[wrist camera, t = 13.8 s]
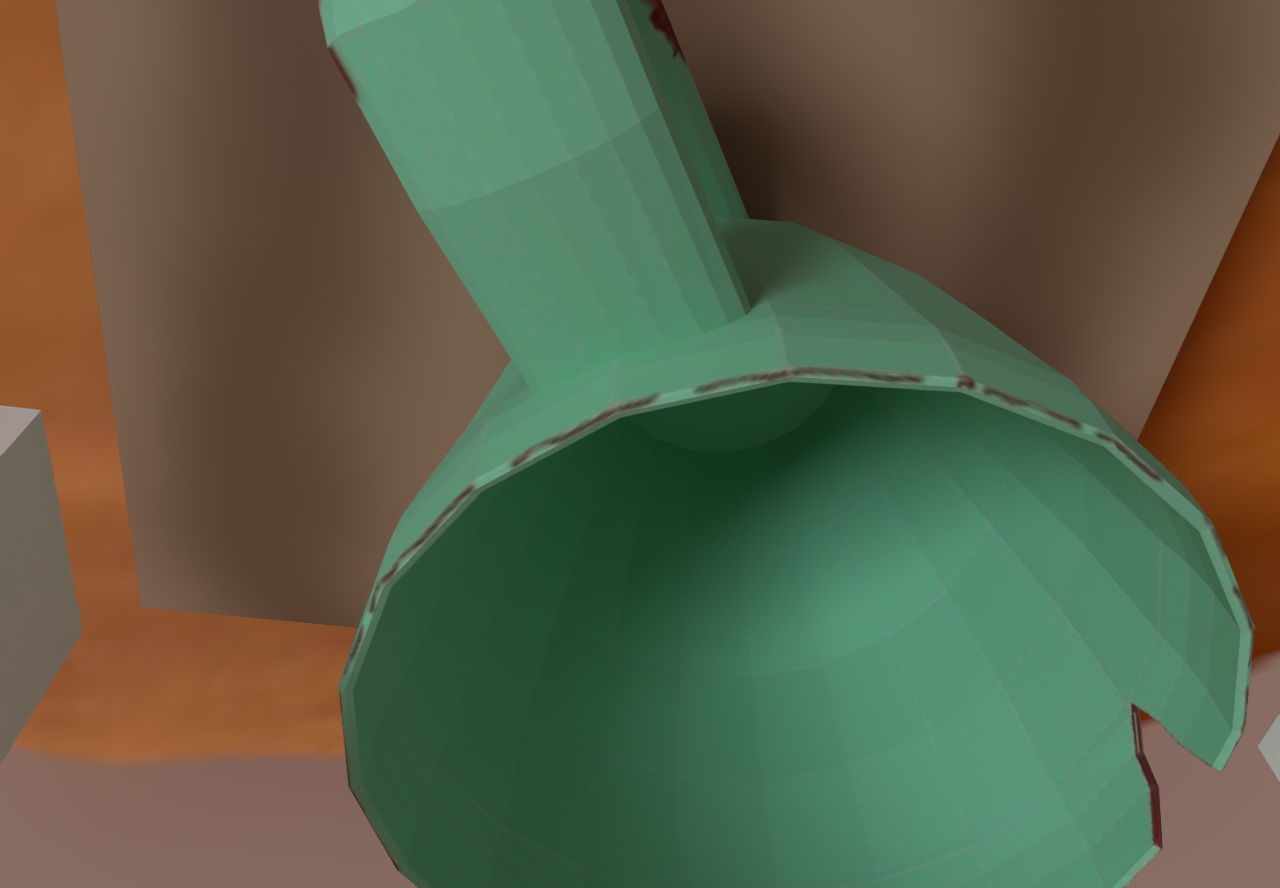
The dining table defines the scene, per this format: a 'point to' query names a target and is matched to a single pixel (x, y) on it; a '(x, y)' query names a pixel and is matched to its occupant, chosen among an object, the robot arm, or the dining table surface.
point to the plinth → (763, 173)
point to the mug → (744, 523)
